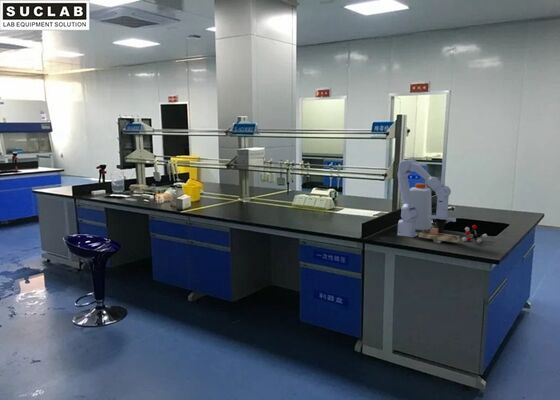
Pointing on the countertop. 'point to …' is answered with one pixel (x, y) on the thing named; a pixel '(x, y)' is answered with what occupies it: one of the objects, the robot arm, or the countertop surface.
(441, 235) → the wooden tray
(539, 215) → the countertop surface
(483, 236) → the molecular model
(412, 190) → the plastic bottle
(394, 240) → the countertop surface
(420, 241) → the countertop surface
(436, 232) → the pink cube
